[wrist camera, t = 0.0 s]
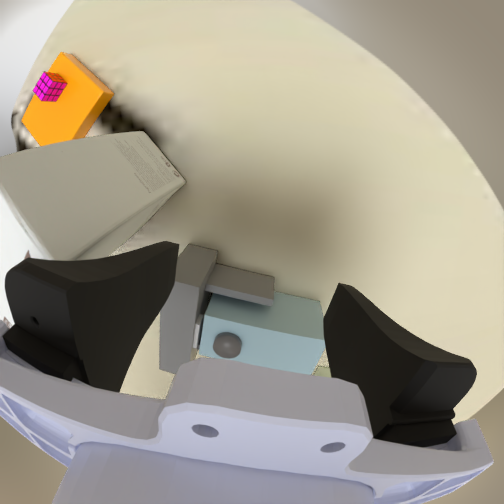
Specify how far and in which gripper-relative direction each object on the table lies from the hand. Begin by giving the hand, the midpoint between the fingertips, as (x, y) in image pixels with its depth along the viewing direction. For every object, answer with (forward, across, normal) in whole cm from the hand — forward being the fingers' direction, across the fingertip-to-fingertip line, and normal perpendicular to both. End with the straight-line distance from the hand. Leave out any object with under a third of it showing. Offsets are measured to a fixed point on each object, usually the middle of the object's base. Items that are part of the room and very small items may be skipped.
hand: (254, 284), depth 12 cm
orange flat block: (+11, +20, -7) cm, 24 cm away
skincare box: (+10, +11, 0) cm, 15 cm away
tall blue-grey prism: (+10, -2, +8) cm, 13 cm away
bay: (+10, +2, +8) cm, 13 cm away
